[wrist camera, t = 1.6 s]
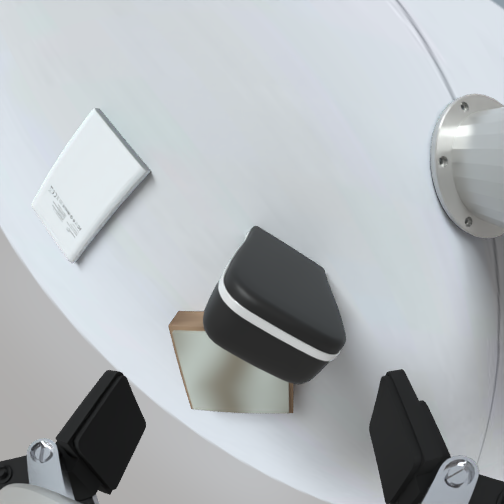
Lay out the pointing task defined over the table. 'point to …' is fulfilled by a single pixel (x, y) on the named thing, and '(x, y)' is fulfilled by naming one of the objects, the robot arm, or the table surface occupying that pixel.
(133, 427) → the robot arm
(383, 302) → the table surface
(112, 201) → the external hard drive
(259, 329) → the battery charger
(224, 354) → the plinth
